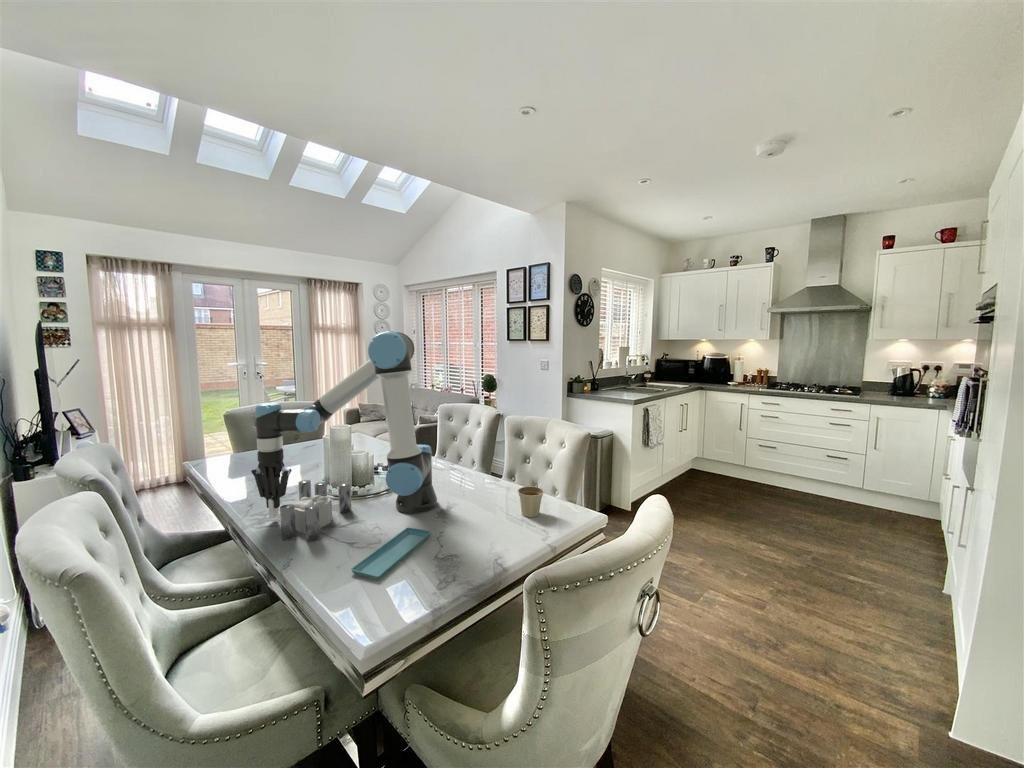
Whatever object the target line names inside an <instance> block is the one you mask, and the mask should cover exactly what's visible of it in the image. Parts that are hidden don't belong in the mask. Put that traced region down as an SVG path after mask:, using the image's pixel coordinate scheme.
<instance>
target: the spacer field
mask: <svg viewBox="0 0 1024 768" xmlns="http://www.w3.org/2000/svg"><path fill="white" fill-rule="evenodd" d="M311 482H312V481H311V480H310V479H303V480H300V481H298V498H299V499H298V502H299V501H300V499H301V498H303V497H308V498H310V497H311V498H312V485H311V484H312V483H311ZM351 488H352V486H351V482H342V483H339V484H338V503H339V505H338V506H339V513H340V514H348V513H351V512H352V510H353V508H352V492H351V491H352V489H351ZM316 495H320V496H326V497H328V483H327V482H326V481H320V482H319V481H318V482H316V483H314V496H316ZM294 504H295V503H288V504H283V505H280V507H279V511H280V513H279V515H280V530H281V531H280V533H281V534H280V535H281V540H282V539H283V540H282V541H290V540H289V539H291V540H293V538H294V537H295V538H296V537H297V531H296V524H295V505H294ZM305 525H306V533H305V540H306V541H307V542H315V540H316V541H318V540H320V539H321V528H320V518H319V506H318V505H310V506H307V507H305ZM295 538H294V539H295ZM319 538H320V539H319ZM317 539H318V540H317Z"/></svg>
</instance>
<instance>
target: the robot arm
mask: <svg viewBox="0 0 1024 768" xmlns="http://www.w3.org/2000/svg"><path fill="white" fill-rule="evenodd" d="M414 354H415V344H414V341H413V340H412V338H411V337H410V336H408V335H407V334H406V333H403V332H399V331H397V332H396V331H392V330H391V331H388V330H387V331H382V332H380V333H378V334H376V335H375V336H374V337H373V338H372V339H371V340H370V342H369V344H368V347H367V355H368V358H369V359H368V360H367V361H365V362H364V363H363V364H362V365H361V366H359V367H357V368H356V369H355V370H354V371H352V372H351V373H350V374H348V375H347V376H346V377H345V378H343V379H342V380H341V381H340V382H339V383H337V384H336V385H335V386H333V387H331V389H330V390H328V391H327V392H326V393H325V394H323V395H322V396H321V397H319V398H318V399H317V400H315V401H314V402H313V403H311V404H310V405H307V406H304V407H300V408H298V409H297V408H296V409H283V407H282V405H281V403H280V402H264V403H259V404H257V405H256V406H255V415H254V416H255V417H254V419H255V427H256V428H255V430H256V449H257V450H258V451H257V454H256V455H257V462H258V465H257V467H256V468H254V469H251V474H252V475H253V476H254V479H255V484H256V486H257V489H258V494H259V497H260V498H265V501H266V503H265V504H266V508H267V509H268V518H269V519H275V518H276V517H278V516H279V508H280V507H281V500H280V499H281V498H282V497H284V496H286V492H287V488H288V487H287V486H288V482H289V477H290V474H291V473H292V468H287V467H285V463H284V455H285V454H284V449H283V446H284V439H283V433H303V434H304V433H305V434H306V433H314V432H316V431H317V430H318V429H319V427H320V425H322V424H324V423H325V422H327V421H328V420H329V419H331V417H332V416H334V414H335V413H337V412H338V411H339V410H341V409H343V407H345V406H346V405H347V404H348V403H350V402H351V401H352V400H354V399H355V398H356V397H358V396H359V395H360V394H362V393H363V392H364V391H365V390H367V389H368V388H369V387H371V386H372V385H373V384H374V383H376V382H377V381H378V380H380V381H381V388H382V396H383V397H382V398H383V404H384V411H385V417H386V418H385V419H386V426H387V433H388V440H389V448H390V450H389V452H387V454H386V461H387V467H388V470H387V471H386V474H385V484H386V486H387V488H388V490H389V491H391V492H393V493H394V494H395V495H397V497H396V499H395V508H396V510H397V511H399V512H401V513H404V514H418V513H424V512H429V511H431V510H433V509H435V508H436V507H437V505H438V497H437V494H436V491H435V488H434V486H433V469H432V468H433V463H432V462H433V460H432V459H433V457H432V455H433V453H432V447H431V446H430V445H428V444H417V439H416V431H415V424H414V423H415V422H414V415H413V407H412V400H411V399H412V398H411V391H410V384H409V375H410V373H411V372H412V370H413V369H412V362H411V360H412V359H413V357H414V356H415V355H414Z"/></svg>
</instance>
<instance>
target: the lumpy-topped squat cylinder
mask: <svg viewBox="0 0 1024 768" xmlns="http://www.w3.org/2000/svg"><path fill="white" fill-rule="evenodd" d="M293 504H294V505H295V524H296V530H298V531H297V532H299V531H300V532H299V533H302V532H306V525H305V507H307V506H310V505H318V506H319V518H320V529H322V528H324V527H326V526H327V524H328V525H329V524H331V522H332V521H333V508H332V507H333V506H332V504H333V503H332V498H331V496H327V497H326V496H320V495H316V496H315V495H314V496H311V497H310V498H308V497H303V498H301V499H300V501H299V500H298V501H297V502H295V503H293ZM331 520H332V521H331ZM325 525H326V526H325ZM323 526H324V527H323ZM321 527H322V528H321Z"/></svg>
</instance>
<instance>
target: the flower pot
mask: <svg viewBox="0 0 1024 768" xmlns="http://www.w3.org/2000/svg"><path fill="white" fill-rule="evenodd" d="M517 493H518V496H519V500H520V502H519V503H520V509H521V515H522V516H523V517H528V518H535V517H538V516H539V514H540V511H541V502H542V499H543V495H544V493H545V490H544V489H543V488H541V487H537V486H533V485H531V486H530V485H529V486H522V487H520V488H518V489H517Z"/></svg>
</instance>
